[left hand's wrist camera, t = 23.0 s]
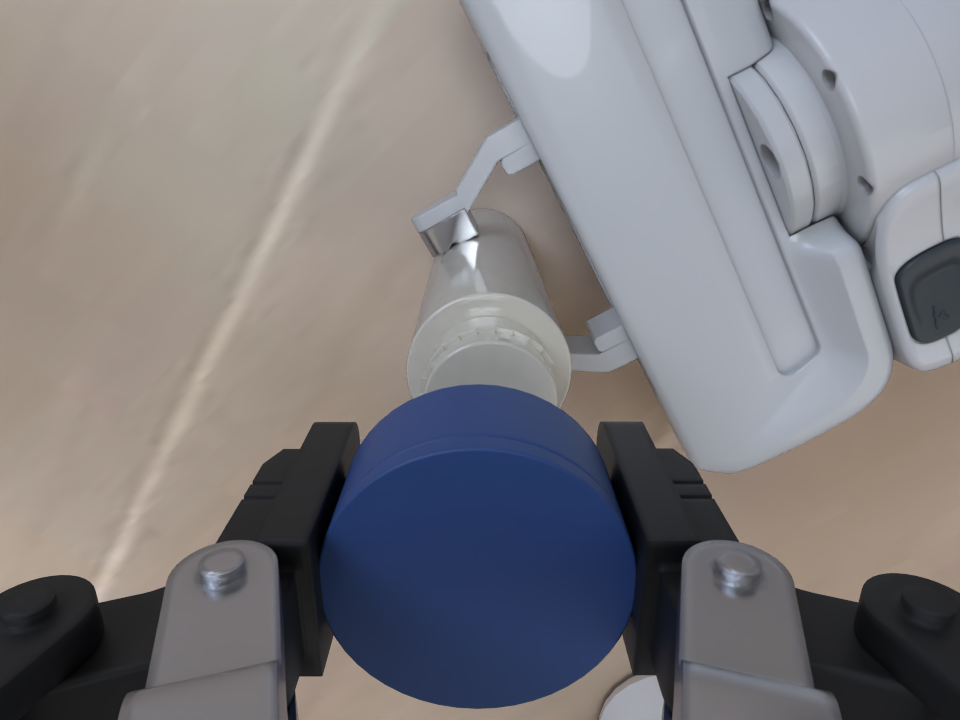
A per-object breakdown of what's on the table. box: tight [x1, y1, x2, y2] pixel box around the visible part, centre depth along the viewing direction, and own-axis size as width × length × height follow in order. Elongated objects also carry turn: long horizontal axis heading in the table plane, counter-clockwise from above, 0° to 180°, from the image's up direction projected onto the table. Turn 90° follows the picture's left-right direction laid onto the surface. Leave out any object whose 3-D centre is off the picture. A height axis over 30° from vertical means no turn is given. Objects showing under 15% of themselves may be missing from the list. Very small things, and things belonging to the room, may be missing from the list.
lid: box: [319, 384, 636, 709], centre depth 10 cm, size 4×4×2 cm
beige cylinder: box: [406, 209, 572, 408], centre depth 22 cm, size 4×4×16 cm
